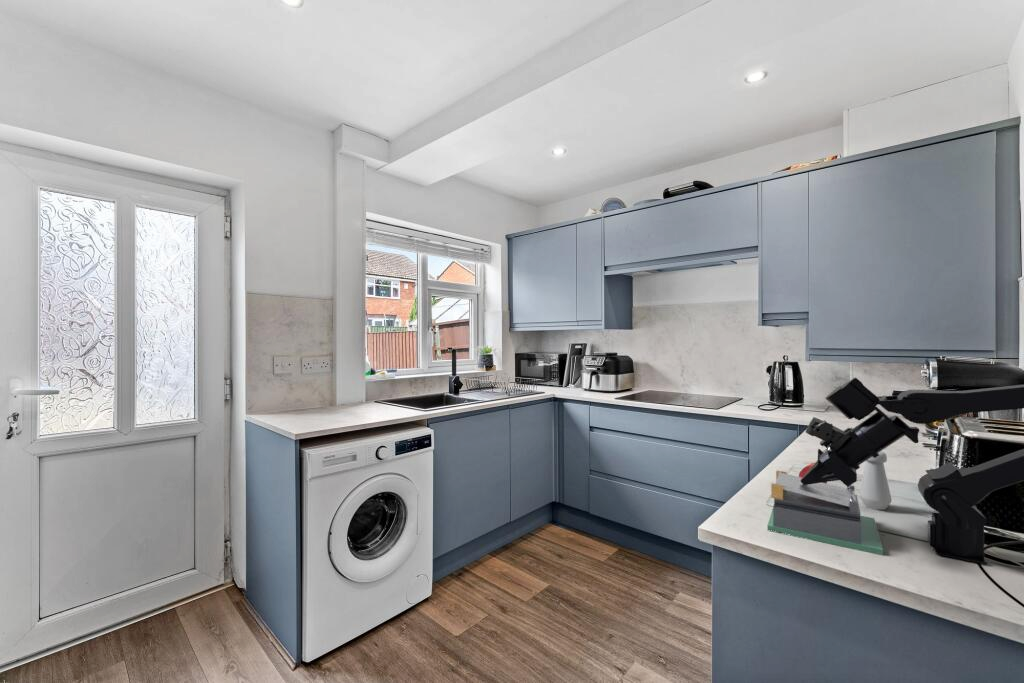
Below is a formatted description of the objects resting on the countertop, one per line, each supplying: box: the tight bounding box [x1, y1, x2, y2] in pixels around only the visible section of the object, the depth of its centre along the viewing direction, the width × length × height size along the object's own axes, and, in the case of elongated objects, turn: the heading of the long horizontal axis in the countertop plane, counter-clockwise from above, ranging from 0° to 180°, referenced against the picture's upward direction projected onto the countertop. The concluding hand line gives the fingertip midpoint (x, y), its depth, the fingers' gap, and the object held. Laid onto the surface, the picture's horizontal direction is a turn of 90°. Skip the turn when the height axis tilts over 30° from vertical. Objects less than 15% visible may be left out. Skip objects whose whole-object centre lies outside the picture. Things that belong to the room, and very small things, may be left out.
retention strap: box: [774, 472, 856, 507], centre depth 91 cm, size 14×10×1 cm
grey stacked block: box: [770, 469, 861, 544], centre depth 92 cm, size 14×16×8 cm
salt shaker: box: [858, 450, 892, 511], centre depth 101 cm, size 6×6×13 cm
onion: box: [798, 462, 828, 484], centre depth 110 cm, size 6×6×8 cm
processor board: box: [767, 508, 884, 556], centre depth 91 cm, size 18×17×1 cm
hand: (802, 482), depth 93 cm, fingers closed, pressing on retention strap
